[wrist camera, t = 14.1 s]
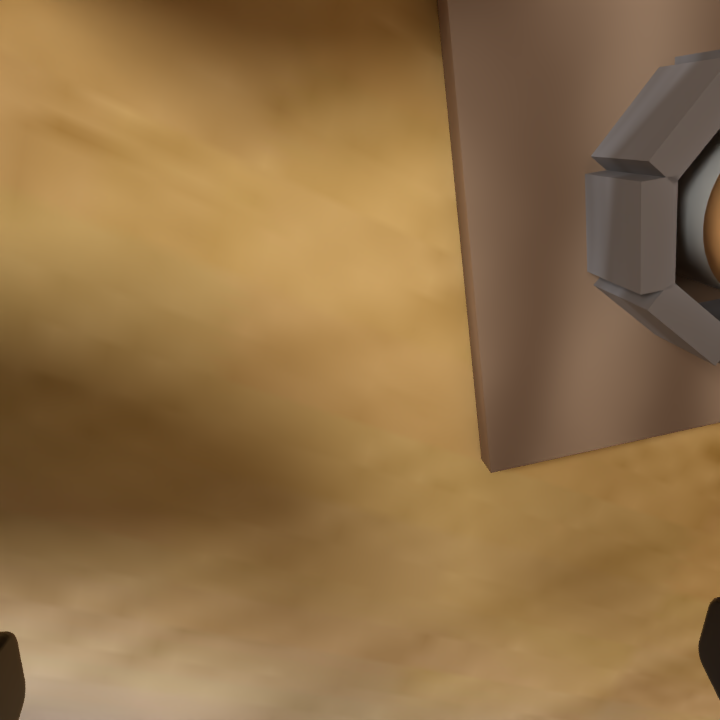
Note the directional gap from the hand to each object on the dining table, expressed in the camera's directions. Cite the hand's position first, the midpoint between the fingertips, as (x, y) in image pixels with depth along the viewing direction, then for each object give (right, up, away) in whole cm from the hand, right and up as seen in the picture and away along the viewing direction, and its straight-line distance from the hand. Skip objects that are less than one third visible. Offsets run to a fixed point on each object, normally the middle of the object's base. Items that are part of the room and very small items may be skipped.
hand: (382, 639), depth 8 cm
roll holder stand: (+11, +9, +13) cm, 19 cm away
